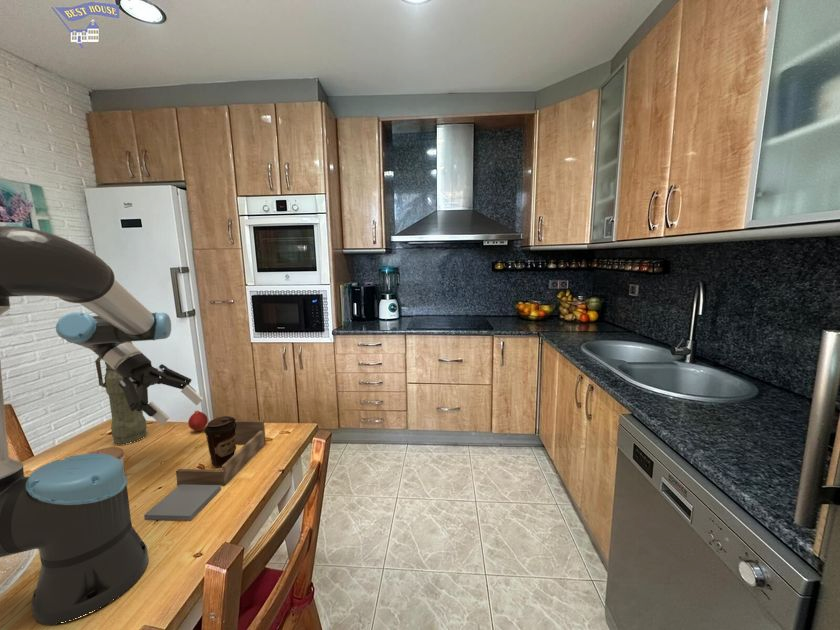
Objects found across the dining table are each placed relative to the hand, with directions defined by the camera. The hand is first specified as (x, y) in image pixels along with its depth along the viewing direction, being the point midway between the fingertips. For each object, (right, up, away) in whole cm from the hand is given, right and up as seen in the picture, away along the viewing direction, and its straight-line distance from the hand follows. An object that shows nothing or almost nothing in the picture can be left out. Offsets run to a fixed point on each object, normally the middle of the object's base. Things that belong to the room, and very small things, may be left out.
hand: (184, 411), depth 98 cm
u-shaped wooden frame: (+12, -16, +1) cm, 20 cm away
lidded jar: (-17, -17, -8) cm, 26 cm away
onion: (-10, -13, +21) cm, 27 cm away
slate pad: (+12, -18, -16) cm, 27 cm away
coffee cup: (+11, -16, +2) cm, 19 cm away
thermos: (-30, -14, +16) cm, 37 cm away
